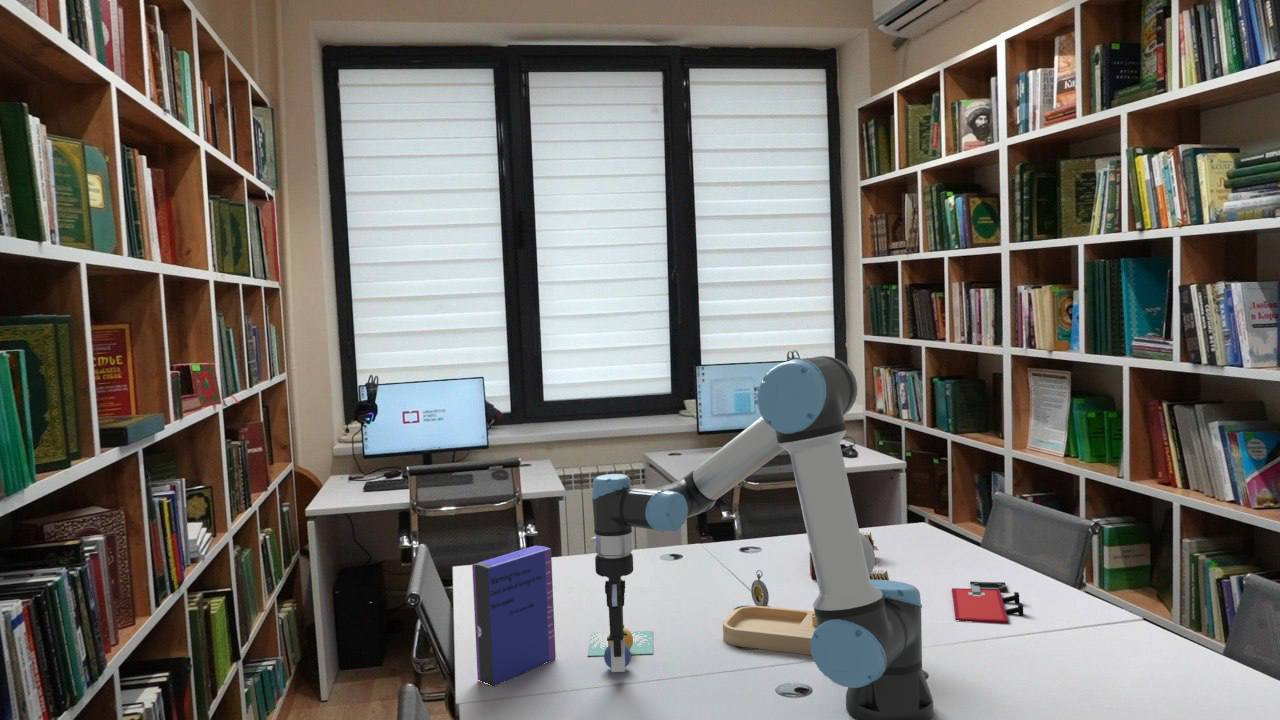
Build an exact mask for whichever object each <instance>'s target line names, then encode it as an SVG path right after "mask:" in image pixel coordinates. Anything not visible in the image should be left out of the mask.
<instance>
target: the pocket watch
mask: <svg viewBox="0 0 1280 720" xmlns="http://www.w3.org/2000/svg"><path fill="white" fill-rule="evenodd" d="M759 572H760V573H761V575H760V573H759ZM755 573H756V574H755V575H756V578H757V579H756V580H754V581H752V583H751V584H752V585H751V588H750V590H751V591H750V593H751V597H752V601H753V603H754V604H755V606H765V607H768V604H769V601H770V600H769V599H770V598H769V591H768V587H767V586H766V584H765V582H763V580H761V578H762V577H763V574H764V573H763V571H762V570H760V569H758V570H757V571H756V572H755ZM746 606H747V605H740V606H736V607H735V608H734V609H733V611H734V610H735V609H738V608H741V607H746Z"/></svg>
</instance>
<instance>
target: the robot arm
mask: <svg viewBox="0 0 1280 720" xmlns="http://www.w3.org/2000/svg"><path fill="white" fill-rule="evenodd" d="M857 395H858V382H857V379H856V376H855V375H854V372H853V370H851V368H850V367H849V366H848V364H846V363H845V362H844V361H842V360H840V359H838V358H836V357H833V356H828V355H826V356H825V355H820V356H815V357H814V356H813V357H806V358H804V357H803V358H795V359H790V360H789V361H785V362H784V361H783V362H781V363H779V364H777V365H775V366H774V367H772V368H771V369H770V370H769V371H768V372H766V374H765V375H764V376H763V379H762V380H761V382H760V384H759V387H758V391H757V408H758V410H759V414H760V417H759V418H758V419H756V421H754V422H753V423H752V424H750V425H749V426H748V427H746V428H745V429H744V430H743V431H741V432H740V433H739V434H738V435H736V436H735V437H734V438H733V439H732V440H730V441H728V442H727V443H726V444H725V445H723V446H722V447H721V448H720V449H718V450H717V451H716V452H714V453H713V454H712V455H711V456H709V457H708V458H707V459H705V460H704V461H703V462H702V463H700V464H699V465H698V466H697V467H695V468H694V469H693V470H692V471H690V472H689V473H688V474H687V475H685V476H684V477H683V478H681V479H680V480H677V481H674V482H671V483H668V484H665V485H662V486H658V487H654V488H639V487H634V486H632V484H631V480H630V479H631V478H630V477H629V475H625V474H621V473H611V474H610V473H609V474H602V475H598V476H596V477H595V478H594V479H593V481H592V498H591V502H592V512H593V525H594V528H593V530H594V531H593V532H594V533H593V535H594V536H593V537H591V540H590V541H591V543H594V552H595V553H596V555H595V556H594V562H595V563H594V565H595V567H594V569H595V573H596V574H597V575H598V576H599V577H603V578H604V577H606V578H608V580H605V584H604V593H605V594H606V595H605V596H606V607H608V623H609V632H610V636H609V637H607V641H610V645H611V668H610V670H611V673H618V672H619V673H622V672H623V673H625V672H626V667H625V647H624V636H627V631H623V629H624V628H625V624H624V606H625V593H626V579H622V577H626V576H629V575H631V574H632V573H633V571H634V555H633V553H632V552H633V550H634V544H633V543H634V540H633V528H639V529H645V530H646V529H647V530H651V531H652V530H654V531H658V532H676V531H679V530H680V529H682V527H683V525H684V524H685V523H686V520H687V518H691V517H694V516H696V515H702V514H703V513H705V512H707V511H708V510H710V509H712V507H714V506H715V504H716V502H717V500H718V499H719V498H721V497H722V496H723V495H725V494H726V493H728V492H730V491H731V490H732V489H733V488H735V487H736V486H737V485H739V484H740V483H742V482H743V481H744V480H746V479H747V478H748V477H750V476H751V475H752V474H754V473H755V472H756V471H758V470H759V469H760V468H762V467H763V466H765V465H766V464H767V463H769V462H770V461H771V460H773V459H774V458H775V457H777V456H778V455H779V454H781V453H782V452H784V451H786V452H788V454H789V456H790V461H791V466H792V471H793V475H794V479H795V480H794V481H795V483H796V484H795V485H796V488H797V493H798V498H799V503H800V508H801V512H802V517H803V522H804V526H805V530H806V531H805V532H806V535H807V541H808V544H809V550H810V552H811V555H812V559H813V564H814V569H815V573H816V578H817V579H816V583H817V587H818V591H819V593H818V595H817V597H816V598H815V599H814V601H813V603H812V604H813V611H814V612H815V616H816V621H817V627H816V629H815V631H814V633H813V636H812V639H811V653H812V655H811V657H812V659H813V662H814V663H815V665H816V667H817V668H818V670H819V671H820V672H821V673H822V674H823V675H824V676H825V677H827V678H828V679H830V681H832V683H834V684H837V685H839V686H841V687H844V688H847V690H846V695H845V707H846V712H847V713H848V714H849V715H850V716H851V717H853V718H854V719H856V720H930V719H931V720H932V719H933V717H934V710H935V709H934V699H933V696H932V694H931V691H930V690H931V689H930V687H929V685H928V682H927V679H926V676H925V674H924V670H923V647H922V646H923V641H922V638H923V637H922V608H923V604H922V601H921V592H920V591H919V589H918V588H917V587H916V586H915V585H912V584H909V583H905V582H902V581H896V580H890V579H889V580H870V578H869V573H868V568H867V564H866V559H865V555H864V550H863V546H862V541H861V537H860V532H861V531H860V529H859V525H858V520H857V515H856V511H855V506H854V502H853V495H852V492H851V487H850V483H849V478H848V474H847V470H846V466H845V461H844V455H843V452H842V447H841V441H842V440H843V438H844V437H845V435H846V433H847V426H846V423H845V422H846V421H845V417H844V416H845V415H847V414H848V413H849V411H850V410H851V409H853V406H854V405H855V402H856V399H857Z"/></svg>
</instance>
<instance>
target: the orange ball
mask: <svg viewBox="0 0 1280 720" xmlns="http://www.w3.org/2000/svg"><path fill="white" fill-rule="evenodd" d="M623 631H627V636H624V644H625V645H626V646H627V647H628V648H629V650H630V649H631V647H632V645H633V636H632V634H631V632H632V631H630V630H629V629H627V628H626V627H624V629H623ZM609 636H610V634H609ZM609 636H608V637H609ZM609 645H610V641H608V646H609Z"/></svg>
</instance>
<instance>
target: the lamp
mask: <svg viewBox="0 0 1280 720" xmlns="http://www.w3.org/2000/svg"><path fill="white" fill-rule="evenodd" d="M864 535H865V534H864V533H863V532H861V533H860V537H861V541H862V546H863V550H864V555H865V559H866V564H867V568H868V573H869V576H870V575H871V573H873V572H874V568H875V564H876V554H875V550H873V547H872V545H871V543H870V541H869V540H868V539H867V538H866V537H865V536H864ZM745 606H746V607H741V608H738V609H735V610H734V609H733V610H732V611H731V612H730V614H728V615H727V617H725V618H724V619H723V620H722V639H723V640H724V642H726V643H727V644H728V643H729V644H728V645H732V646H733V647H734V646H735V647H740V646H741V648H750V649H757V648H758V650H765V649H766V650H765V651H767V650H768V651H775V652H782V651H783V652H785V653H791V652H792V654H793V653H794V654H801V655H802V654H803V655H810V656H812V653H811V639H812V636H813V633H814V631H815V629H816V627H817V621H816V616H815V612H814V610H804V609H803V610H802V609H796V608H795V609H794V608H784V607H775V606H774V607H773V606H766V607H765V606H756V605H745ZM783 652H782V653H783Z"/></svg>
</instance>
